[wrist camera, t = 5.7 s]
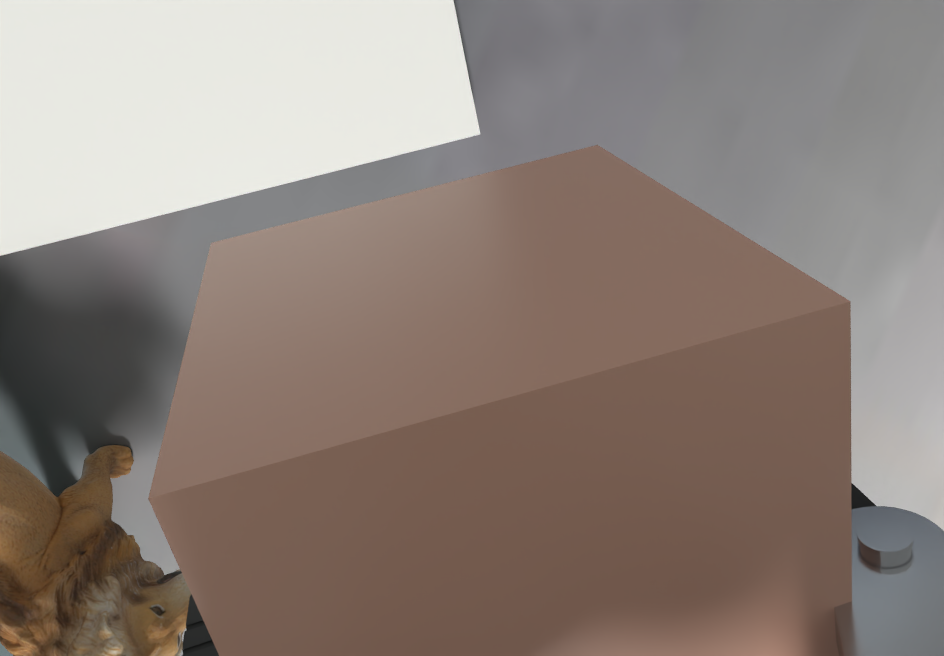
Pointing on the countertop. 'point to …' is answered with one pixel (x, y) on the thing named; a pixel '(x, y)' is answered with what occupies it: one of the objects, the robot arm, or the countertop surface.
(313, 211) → the countertop surface
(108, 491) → the lion figurine
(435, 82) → the baseplate
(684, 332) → the terracotta brick
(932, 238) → the countertop surface
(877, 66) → the countertop surface
